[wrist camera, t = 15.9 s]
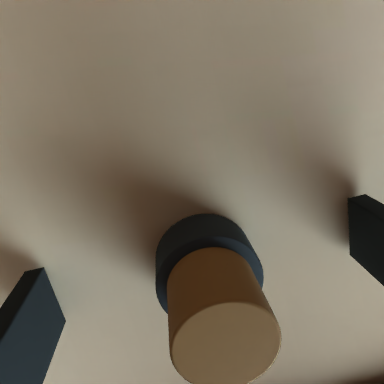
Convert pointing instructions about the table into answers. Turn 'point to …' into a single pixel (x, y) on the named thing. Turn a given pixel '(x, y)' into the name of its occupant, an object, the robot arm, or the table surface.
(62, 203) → the table surface
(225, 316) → the stamp
